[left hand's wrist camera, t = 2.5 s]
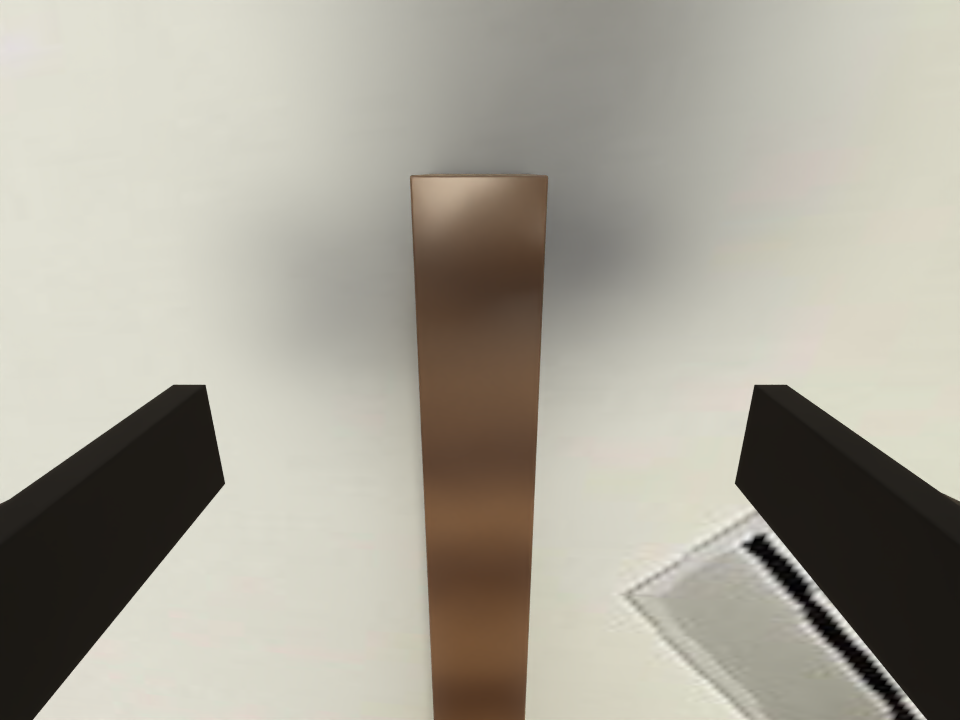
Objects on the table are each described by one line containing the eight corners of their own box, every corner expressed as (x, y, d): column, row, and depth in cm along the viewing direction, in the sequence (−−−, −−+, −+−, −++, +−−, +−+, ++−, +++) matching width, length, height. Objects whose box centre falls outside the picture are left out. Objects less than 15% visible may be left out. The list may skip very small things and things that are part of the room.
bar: (428, 174, 25) (409, 175, 19) (530, 174, 25) (548, 175, 19) (450, 843, 44) (444, 967, 37) (509, 843, 44) (514, 967, 37)
